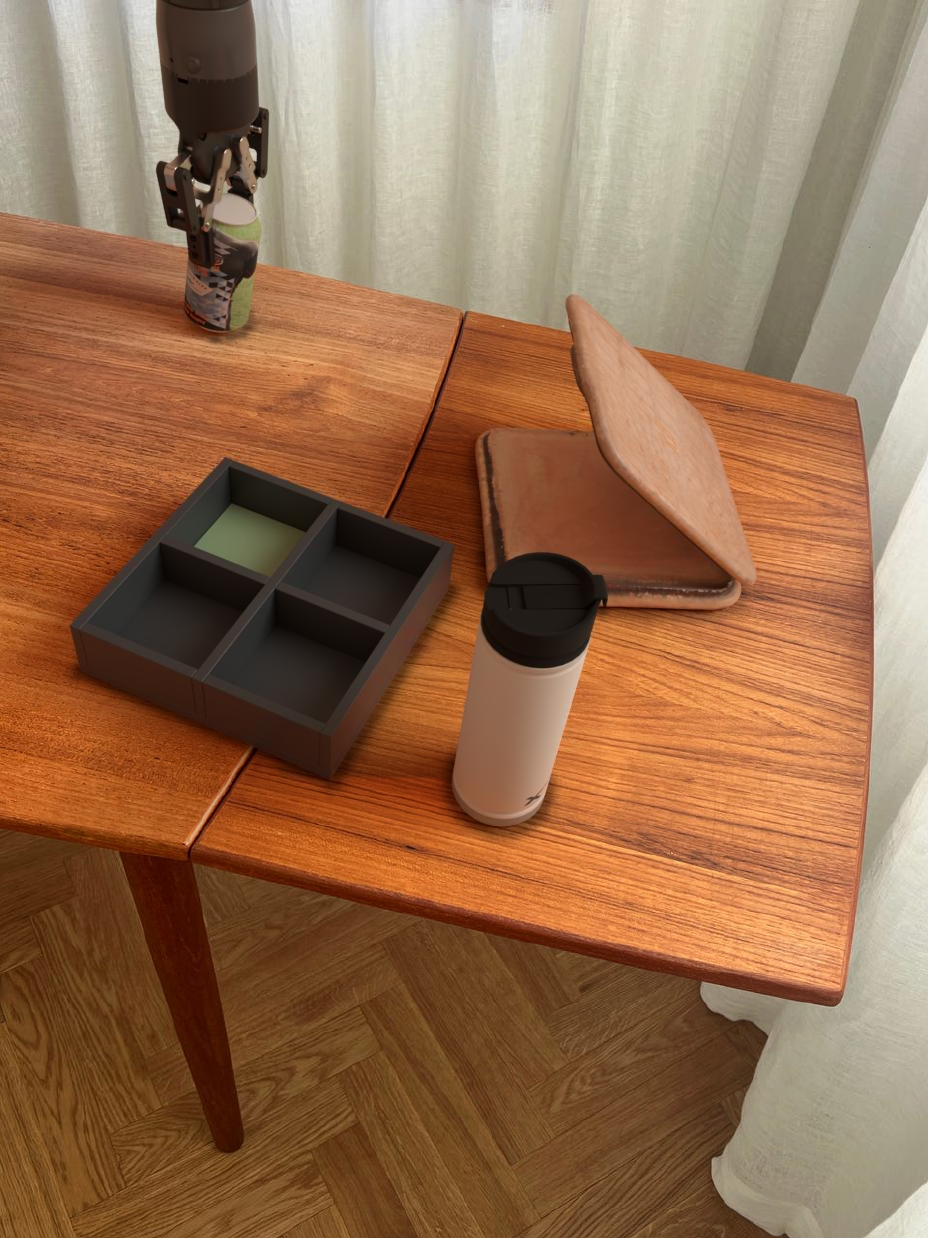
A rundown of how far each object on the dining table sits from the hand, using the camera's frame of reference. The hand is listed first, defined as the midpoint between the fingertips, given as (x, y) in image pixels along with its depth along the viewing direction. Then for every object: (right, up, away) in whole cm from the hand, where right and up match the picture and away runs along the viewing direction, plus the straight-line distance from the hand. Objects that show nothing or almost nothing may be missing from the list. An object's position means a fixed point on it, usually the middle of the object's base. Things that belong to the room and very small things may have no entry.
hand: (222, 246), depth 100 cm
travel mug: (+24, -45, -25) cm, 57 cm away
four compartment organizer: (+8, -34, -18) cm, 39 cm away
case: (+33, -25, -7) cm, 42 cm away
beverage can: (-1, -5, +6) cm, 8 cm away
